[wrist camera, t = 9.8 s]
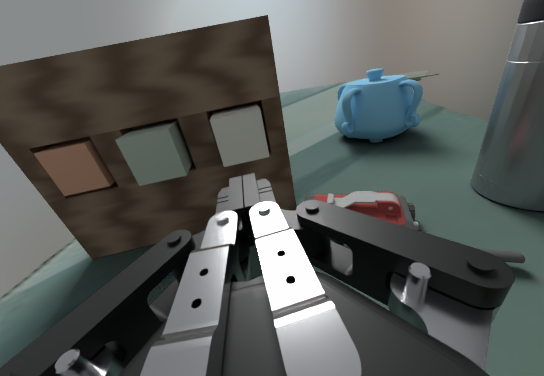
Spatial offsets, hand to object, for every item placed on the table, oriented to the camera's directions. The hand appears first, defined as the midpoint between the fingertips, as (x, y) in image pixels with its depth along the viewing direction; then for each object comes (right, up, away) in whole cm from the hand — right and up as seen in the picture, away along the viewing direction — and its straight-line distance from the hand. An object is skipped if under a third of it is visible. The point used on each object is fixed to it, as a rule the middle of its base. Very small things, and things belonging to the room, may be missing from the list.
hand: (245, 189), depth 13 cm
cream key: (-1, +4, +13) cm, 13 cm away
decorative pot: (+25, +12, +39) cm, 48 cm away
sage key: (-10, +2, +12) cm, 16 cm away
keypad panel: (-9, -5, +19) cm, 22 cm away
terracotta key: (-19, +1, +13) cm, 23 cm away
